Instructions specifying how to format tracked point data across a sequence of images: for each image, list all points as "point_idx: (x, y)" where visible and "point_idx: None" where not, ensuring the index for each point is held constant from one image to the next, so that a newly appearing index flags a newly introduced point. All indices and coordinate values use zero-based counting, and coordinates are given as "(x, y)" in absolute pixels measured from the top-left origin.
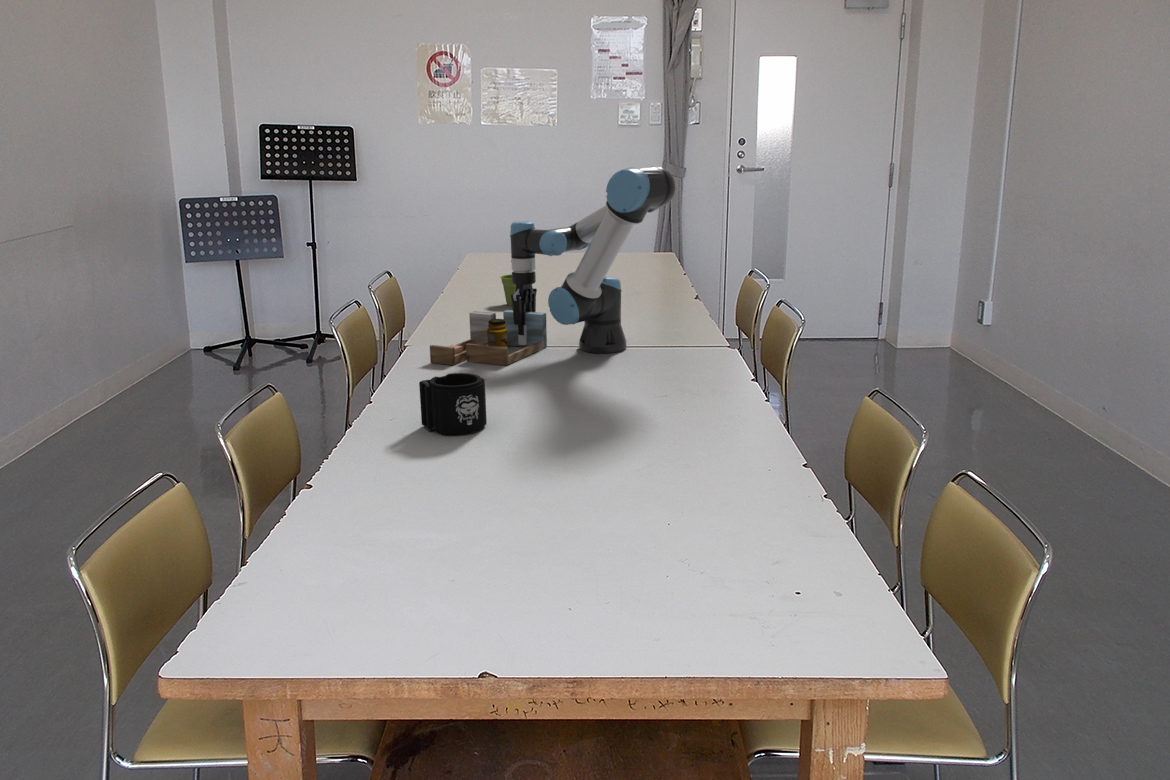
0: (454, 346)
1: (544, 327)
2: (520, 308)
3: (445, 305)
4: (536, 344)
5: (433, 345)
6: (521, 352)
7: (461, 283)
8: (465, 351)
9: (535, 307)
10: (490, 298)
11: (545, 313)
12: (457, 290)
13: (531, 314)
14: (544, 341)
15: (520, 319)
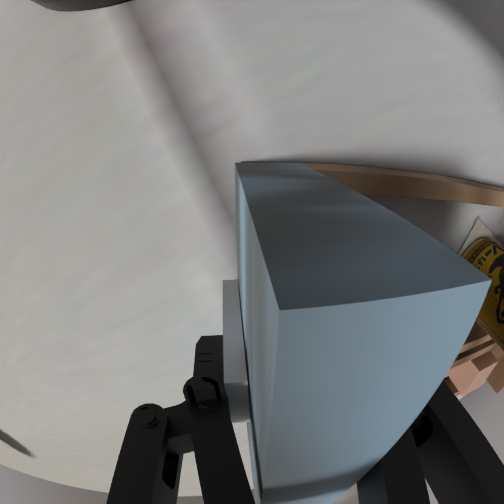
0: (477, 381)
1: (301, 193)
2: (490, 470)
3: (69, 484)
4: (394, 174)
5: (501, 387)
6: (498, 189)
7: (9, 466)
8: (486, 349)
9: (111, 500)
10: (3, 450)
11: (324, 303)
12: (23, 471)
13: (405, 423)
14: (277, 167)
15: (451, 395)
